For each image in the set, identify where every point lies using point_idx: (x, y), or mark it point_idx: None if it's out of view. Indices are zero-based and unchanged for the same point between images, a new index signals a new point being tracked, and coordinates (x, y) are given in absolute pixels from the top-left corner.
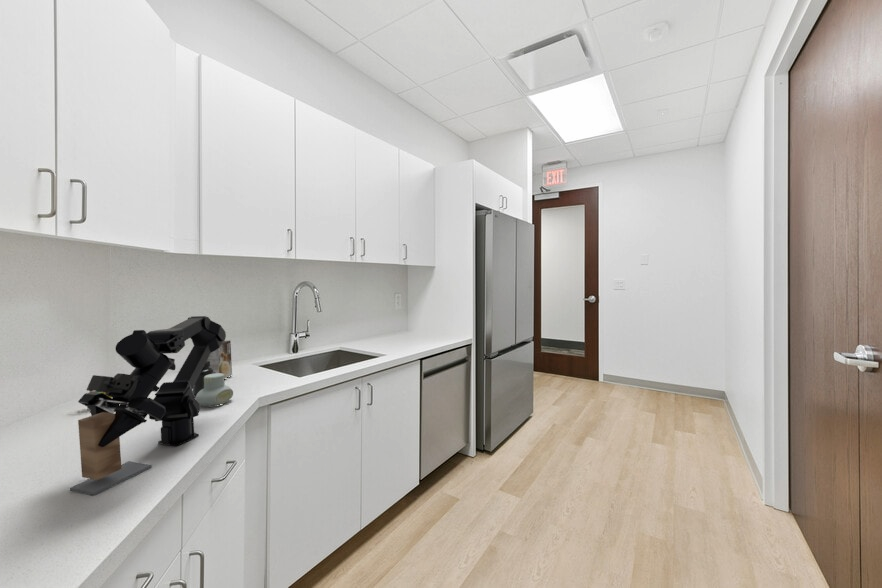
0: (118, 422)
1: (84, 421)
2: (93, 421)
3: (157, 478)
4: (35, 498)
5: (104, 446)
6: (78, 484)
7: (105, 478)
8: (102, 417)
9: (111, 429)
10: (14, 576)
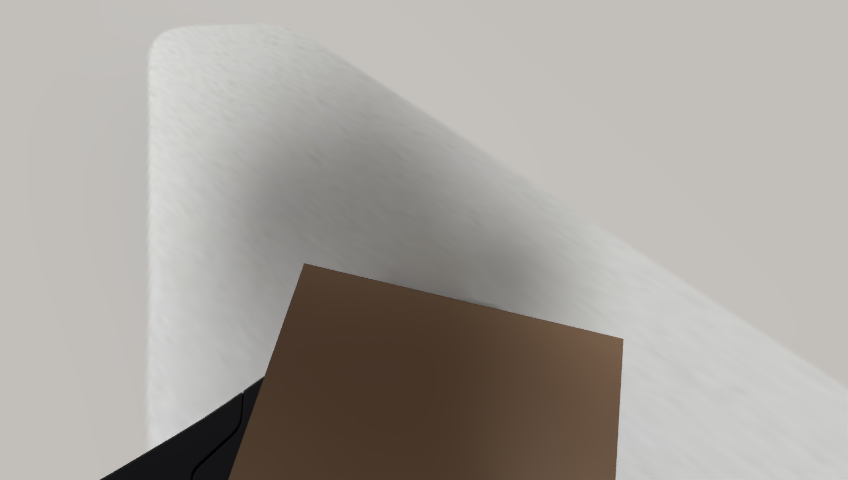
0: (149, 456)
1: (484, 308)
2: (322, 284)
3: None
4: (569, 271)
5: None
6: None
7: None
8: (325, 459)
9: (250, 388)
10: (285, 30)
